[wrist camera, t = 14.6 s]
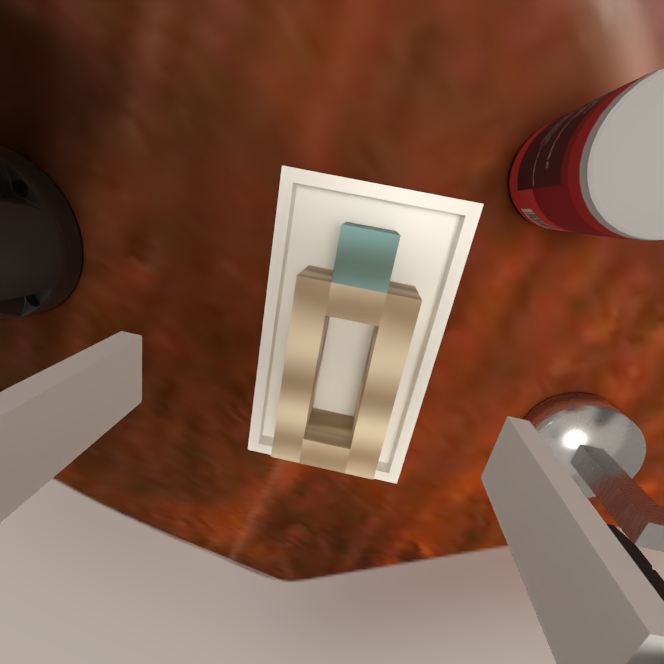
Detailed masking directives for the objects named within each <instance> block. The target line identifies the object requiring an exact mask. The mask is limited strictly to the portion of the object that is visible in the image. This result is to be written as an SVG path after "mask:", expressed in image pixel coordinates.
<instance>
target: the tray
mask: <svg viewBox="0 0 664 664" xmlns="http://www.w3.org/2000/svg"><path fill="white" fill-rule="evenodd" d="M483 205H484V204H481V203H476V202H471V201H466V200H460V199H455V198H450V197H445V196H439V195H434V194H429V193H424V192H418V191H413V190H408V189H403V188H397V187H392V186H387V185H382V184H376V183H371V182H366V181H361V180H355V179H350V178H345V177H340V176H335V175H329V174H324V173H319V172H314V171H308V170H303V169H298V168H293V167H287V166H282V170H281V178H280V186H279V194H278V203H277V211H276V219H275V228H274V236H273V244H272V252H271V261H270V269H269V277H268V285H267V294H266V302H265V310H264V319H263V327H262V335H261V343H260V352H259V360H258V368H257V376H256V385H255V393H254V401H253V409H252V418H251V426H250V434H249V443H248V450H252V451H256V452H261V453H265V454H269V455H271V453H272V446H273V439H274V432H275V425H276V418H277V411H278V404H279V397H280V390H281V383H282V376H283V369H284V362H285V355H286V348H287V341H288V334H289V327H290V320H291V313H292V306H293V299H294V291H295V284H296V277H297V275H298V274H299V273H300V272H301V271H303V270H304V269H305V268H306V267H307V266H308V265H311V266H316V267H321V268H326V269H331V270H334V264H335V258H336V253H337V247H338V241H339V236H340V230H341V225H342V224H343V223H345V222H351V223H356V224H362V225H367V226H372V227H377V228H383V229H388V230H393V231H397V232H398V233H399V234H400V235H401V236H400V240H399V245H398V249H397V253H396V257H395V262H394V266H393V270H392V274H391V279H390V281H392V282H397V283H403V284H408V285H413V286H415V288H416V289H417V291H418V293H419V295H420V297H421V299H422V303H421V307H420V311H419V314H418V318H417V322H416V325H415V329H414V333H413V336H412V340H411V344H410V347H409V351H408V355H407V358H406V362H405V366H404V369H403V373H402V377H401V380H400V384H399V388H398V391H397V395H396V399H395V402H394V406H393V410H392V413H391V417H390V421H389V424H388V428H387V432H386V435H385V439H384V443H383V446H382V450H381V454H380V457H379V461H378V465H377V468H376V472H375V476H374V479H379V480H383V481H387V482H392V483H396V484H397V481H398V478H399V475H400V472H401V468H402V465H403V462H404V459H405V456H406V452H407V449H408V446H409V443H410V439H411V436H412V433H413V430H414V427H415V423H416V420H417V417H418V414H419V411H420V407H421V404H422V401H423V398H424V395H425V391H426V388H427V385H428V382H429V378H430V375H431V372H432V369H433V366H434V362H435V359H436V356H437V353H438V350H439V346H440V343H441V340H442V337H443V333H444V330H445V327H446V324H447V321H448V317H449V314H450V311H451V308H452V305H453V301H454V298H455V295H456V292H457V288H458V285H459V282H460V279H461V276H462V272H463V269H464V266H465V263H466V260H467V256H468V253H469V250H470V247H471V243H472V240H473V237H474V234H475V231H476V227H477V224H478V221H479V218H480V215H481V211H482V208H483ZM373 330H374V325H369V324H364V323H359V322H354V321H350V320H345V319H340V318H335V317H329V323H328V328H327V334H326V339H325V345H324V350H323V356H322V361H321V367H320V372H319V378H318V383H317V389H316V394H315V400H314V405H313V408H317V409H322V410H326V411H331V412H335V413H340V414H345V415H349V416H354V412H355V408H356V404H357V399H358V395H359V391H360V386H361V382H362V378H363V373H364V369H365V365H366V360H367V356H368V352H369V347H370V343H371V339H372V334H373Z"/></svg>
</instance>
